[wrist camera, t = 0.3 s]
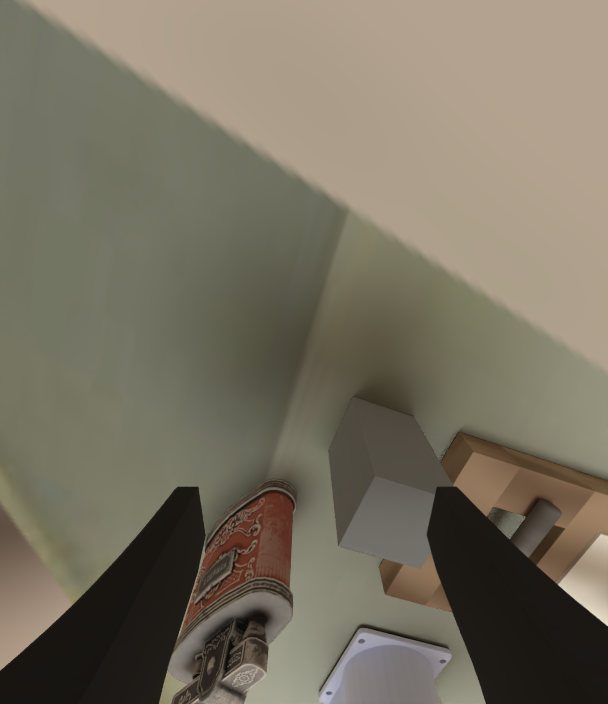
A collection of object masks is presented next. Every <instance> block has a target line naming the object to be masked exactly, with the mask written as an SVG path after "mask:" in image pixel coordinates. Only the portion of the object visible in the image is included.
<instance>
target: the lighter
mask: <svg viewBox="0 0 608 704" xmlns="http://www.w3.org/2000/svg"><path fill="white" fill-rule="evenodd" d="M296 499H297V498H296V492H295V490H294V488H293V487H292V486H291V485H290V484H289V483H287V482H285V481H283V480H278V479H270V480H268V481H265V482H263V483H262V484H260V485H259V486H257V487H256V488H254V489H252V490H251V491H249V492H248V493H246V494H245V495H244V496H243V497H242V498H240V499H239V500H238V501H237V502H235V503H234V504H233V505H232V506H231V507H230V508H229V509H228V510H227V511H226V512H225V513H224V515H223V516H222V517H221V518H220V519H219V520H218V521H217V523H216V524H215V526H214V527H213V529H212V530H211V532H210V533H209V535H208V537H207V540H206V544H205V547H204V550H203V551H204V555H205V556H204V560H203V563H202V566H201V569H200V573H199V576H198V579H197V582H196V586H195V589H194V592H193V595H192V599H191V602H190V605H189V608H188V612H187V615H186V618H185V621H184V625H183V628H182V631H181V634H180V636H179V637H178V639H177V640H176V643H175V647H174V650H173V653H172V656H171V659H170V662H169V666H168V671H169V673H170V674H171V675H172V676H173V677H174V678H176V679H177V680H179V681H181V682H184V683H187V684H188V685H186V686H185V687H184V688H183V689H181V690H180V691H179V692H178V693H176V694H175V695H174V696H173V699H172V703H171V704H244V702H245V699H246V696H247V694H248V692H249V690H250V688H251V687H253V686H254V685H256V684H257V683H258V682H260V681H261V680H262V679H264V678H265V677H266V671H267V659H268V648H269V647H268V645H269V644H270V643H271V642H272V641H274V639H275V638H276V637H277V636H278V635H279V634H280V633H281V631H282V630H283V629H284V628H285V627H286V626H287V624H288V623H289V622H290V620H291V618H292V615H293V594H292V592H291V590H290V568H291V546H292V524H293V514H294V512H295V510H296Z"/></svg>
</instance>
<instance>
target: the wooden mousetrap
mask: <svg viewBox="0 0 608 704" xmlns="http://www.w3.org/2000/svg"><path fill="white" fill-rule="evenodd" d="M441 465H442V466H443V468H444V470H445V472H446V473H447V475H448V477H449V479H450V480H451V482H452V484H453V486H454V487H458V488H459V489H460V490H461V491H462V492H463V493H464V494H465V495H466V496H467V497H468V498H469V499H470V500H471V501H472V502H473V504H474V505H475V506H476V507H477V508H478V509H479V510H480V511H481V512H482V513H483V514H484V515H485V516H487V515H488V514H489V512H490V511H491V509H492V508H493V506H494V507H497V508H500V509H504V510H507V511H510V512H513V513H517V514H520V515H523V516H526V518H525V519H524V521H523V522H522V524H521V525H520V526H519V528H518V529H517V530H516V532H515V533H514V534H513V536H512V537H511V539H510V541H511V542H512V543H513V544H514V545H515V546H516V547H517V548H518V549H519V550H521V551H522V552H523V553H524V554H525V555H526V556H527V557H528V558H529V559H530V560H531V561H532V562H533V563H534V564H535V565H536V566H538V567H539V568H540V569H541V570H542V571H543V572H544V573H545V574H547V575H548V576H549V577H550V578H551V579H552V580H553V581H554V582H555V583H557V584H558V585H559V586H560V587H561V588H562V589H563V590H564V591H566V592H567V593H568V594H569V595H570V596H572V597H573V598H574V599H575V600H576V601H577V602H579V603H580V604H581V605H582V606H584V607H585V608H586V609H587V610H589V611H590V612H591V613H592V614H593V615H595V616H596V617H597V618H598V619H600V620H601V621H602V622H603V623H605V624H606V625H607V626H608V481H606V480H603V479H599V478H596V477H593V476H590V475H587V474H584V473H581V472H578V471H575V470H572V469H569V468H566V467H563V466H560V465H557V464H554V463H551V462H548V461H545V460H542V459H539V458H536V457H533V456H530V455H527V454H524V453H521V452H518V451H515V450H512V449H509V448H506V447H503V446H500V445H497V444H494V443H491V442H488V441H485V440H481V439H478V438H475V437H472V436H469V435H466V434H463V433H460V432H458V434H457V436H456V437H455V439H454V441H453V443H452V444H451V446H450V448H449V449H448V451H447V453H446V454H445V456H444V458H443V459H442V461H441ZM379 569H380V574H381V578H382V583H383V588H384V592H385V595H389V596H392V597H396V598H400V599H404V600H407V601H411V602H415V603H419V604H422V605H426V606H430V607H434V608H437V609H441V610H445V611H449V612H452V610H451V607H450V605H449V602H448V600H447V597H446V594H445V592H444V589H443V587H442V584H441V582H440V579H439V576H438V574H437V571H436V568H435V564H434V561H433V557H432V554H430V555H429V557H428V559H427V560H426V562H425V563H424V565H423V566H422V568H421V569H418V568H415V567H411V566H407V565H404V564H400V563H397V562H393V561H389V560H386V559H383V561H382V563H381V565H380V566H379ZM452 613H453V612H452Z"/></svg>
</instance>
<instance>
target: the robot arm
mask: <svg viewBox="0 0 608 704" xmlns="http://www.w3.org/2000/svg"><path fill="white" fill-rule="evenodd" d="M427 538H428V542H429V546H430V550H431V554H432V557H433V561H434V564H435V568H436V571H437V574H438V576H439V579H440V582H441V584H442V587H443V589H444V592H445V594H446V597H447V600H448V602H449V605H450V607H451V610H452V612H453V615H454V617H455V620H456V622H457V625H458V627H459V630H460V633H461V635H462V638H463V640H464V643H465V645H466V648H467V650H468V653H469V655H470V658H471V660H472V663H473V666H474V669H475V672H476V674H477V677H478V680H479V683H480V686H481V689H482V692H483V696H484V699H485V702H486V704H608V626H607V625H606V624H605V623H603V622H602V621H601V620H600V619H598V618H597V617H596V616H595V615H593V614H592V613H591V612H590V611H589V610H587V609H586V608H585V607H584V606H582V605H581V604H580V603H579V602H577V601H576V600H575V599H574V598H573V597H572V596H570V595H569V594H568V593H567V592H566V591H564V590H563V589H562V588H561V587H560V586H559V585H558V584H557V583H555V582H554V581H553V580H552V579H551V578H550V577H549V576H548V575H547V574H545V573H544V572H543V571H542V570H541V569H540V568H539V567H538V566H536V565H535V564H534V563H533V562H532V561H531V560H530V559H529V558H528V557H527V556H526V555H525V554H524V553H523V552H522V551H521V550H519V549H518V548H517V547H516V546H515V545H514V544H513V543H512V542H511V541H510V540H509V539H508V538H507V537H506V536H505V535H504V534H503V533H502V532H501V531H500V530H499V529H498V528H497V527H496V526H495V525H494V524H493V523H492V522H491V521H490V520H489V519H488V518H487V517H486V516H485V515H484V514H483V513H482V512H481V511H480V510H479V509H478V508H477V507H476V506H475V505H474V504H473V502H472V501H471V500H470V499H469V498H468V497H467V496H466V495H465V494H464V493H463V492H462V491H461V490H460V489H459V488H458V487H437V488H436V493H435V497H434V502H433V506H432V511H431V516H430V520H429V525H428V530H427ZM204 539H205V529H204V522H203V515H202V509H201V502H200V495H199V488H198V487H177V488H176V489H175V490H174V491H173V492H172V494H171V495H170V496H169V498H168V499H167V500H166V501H165V503H164V504H163V505H162V506H161V508H160V509H159V510H158V511H157V513H156V514H155V515H154V516H153V517H152V519H151V520H150V521H149V522H148V524H147V525H146V526H145V527H144V528H143V530H142V531H141V532H140V533H139V534H138V535H137V537H136V538H135V539H134V540H133V541H132V542H131V543H130V545H129V546H128V547H127V548H126V549H125V550H124V552H123V553H122V554H121V555H120V556H119V557H118V558H117V559H116V560H115V561H114V563H113V564H112V565H111V566H110V567H109V568H108V569H107V570H106V571H105V572H104V573H103V574H102V575H101V576H100V578H99V579H98V580H97V581H96V582H95V583H94V584H93V585H92V586H91V587H90V588H89V589H88V590H87V591H86V592H85V593H84V594H83V595H82V596H81V597H80V598H79V599H78V600H77V601H76V602H75V603H74V604H73V605H72V606H71V607H70V608H69V609H68V610H67V611H66V612H65V613H64V614H63V615H62V616H61V617H60V618H59V619H58V620H56V622H54V623H53V624H52V625H51V626H50V627H49V628H48V629H47V630H46V631H45V632H44V633H43V634H41V635H40V636H39V637H38V638H37V639H36V640H35V641H34V642H32V643H31V644H30V645H29V646H28V647H27V648H26V649H25V650H24V651H23V652H21V653H20V654H19V655H18V656H17V657H16V658H14V659H13V660H12V661H11V662H10V663H9V664H7V665H6V666H5V667H4V668H3V669H2V670H1V671H0V704H159V701H160V696H161V692H162V688H163V684H164V680H165V677H166V673H167V670H168V666H169V662H170V659H171V656H172V653H173V650H174V647H175V643H176V640H177V637H178V634H179V631H180V628H181V624H182V621H183V618H184V615H185V612H186V609H187V605H188V602H189V599H190V596H191V593H192V589H193V586H194V583H195V580H196V576H197V573H198V569H199V564H200V559H201V555H202V550H203V545H204ZM451 657H452V655H451V652H450V650H449V649H447V648H443V647H439V646H435V645H431V644H427V643H423V642H419V641H415V640H411V639H407V638H403V637H399V636H395V635H391V634H387V633H383V632H380V631H376V630H372V629H368V628H360V629H359V630H358V631H357V632H356V634H355V636H354V637H353V639H352V641H351V642H350V644H349V646H348V647H347V649H346V650H345V652H344V654H343V655H342V657H341V659H340V660H339V662H338V663H337V665H336V667H335V668H334V670H333V672H332V673H331V675H330V676H329V678H328V680H327V681H326V683H325V685H324V686H323V688H322V690H321V691H320V693H319V701H320V702H322V703H325V704H442V703H441V700H440V696H439V693H438V689H437V686H436V682H435V679H436V677H437V676H438V675H439V673H440V672H441V671H442V670H443V668H444V667H445V666H446V664H447V663H448V662H449V661H450V659H451Z"/></svg>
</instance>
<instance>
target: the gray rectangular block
mask: <svg viewBox="0 0 608 704" xmlns="http://www.w3.org/2000/svg"><path fill="white" fill-rule="evenodd" d="M328 451H329V461H330V470H331V480H332V490H333V499H334V509H335V519H336V529H337V538H338V546H339V547H343V548H346V549H350V550H353V551H357V552H361V553H364V554H368V555H371V556H375V557H379V558H382V559H386V560H389V561H393V562H397V563H400V564H404V565H407V566H411V567H415V568H418V569H421V568H422V566H423V565H424V563H425V562H426V560H427V559H428V557H429V555H430V554H431V550H430V546H429V542H428V538H427V530H428V525H429V520H430V516H431V511H432V506H433V502H434V497H435V493H436V488H437V487H454V486H453V484H452V482H451V480H450V479H449V477H448V475H447V473H446V472H445V470H444V468H443V466H442V465H441V463H440V461H439V459H438V458H437V456H436V454H435V452H434V451H433V449H432V447H431V446H430V444H429V442H428V440H427V439H426V437H425V435H424V433H423V432H422V430H421V428H420V426H419V425H418V423H417V421H416V419H415V418H414V417H413V416H410V415H407V414H404V413H401V412H398V411H395V410H392V409H389V408H386V407H383V406H380V405H377V404H374V403H371V402H368V401H365V400H362V399H358V398H355V397H352V399H351V402H350V404H349V406H348V408H347V410H346V413H345V415H344V417H343V419H342V422H341V424H340V426H339V428H338V430H337V433H336V435H335V437H334V439H333V441H332V444H331V446H330V448H329V450H328Z"/></svg>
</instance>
